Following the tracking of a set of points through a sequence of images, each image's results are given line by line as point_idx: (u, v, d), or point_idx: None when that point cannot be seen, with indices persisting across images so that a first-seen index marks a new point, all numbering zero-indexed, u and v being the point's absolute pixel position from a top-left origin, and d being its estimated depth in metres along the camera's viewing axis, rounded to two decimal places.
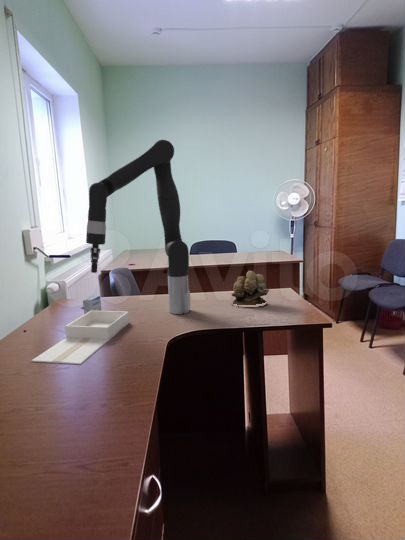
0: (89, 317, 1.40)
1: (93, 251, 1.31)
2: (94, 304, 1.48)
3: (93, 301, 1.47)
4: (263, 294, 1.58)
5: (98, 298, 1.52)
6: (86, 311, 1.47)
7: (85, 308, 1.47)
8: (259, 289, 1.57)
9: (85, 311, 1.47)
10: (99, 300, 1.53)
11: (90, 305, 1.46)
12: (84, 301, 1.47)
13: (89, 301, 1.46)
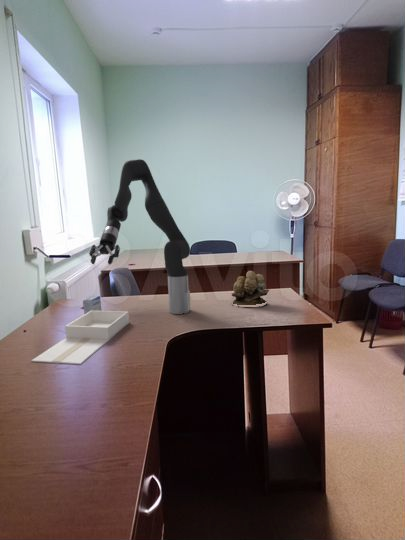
0: (89, 317, 1.40)
1: None
2: (94, 304, 1.48)
3: (93, 301, 1.47)
4: (263, 294, 1.58)
5: (98, 298, 1.52)
6: (86, 311, 1.47)
7: (85, 308, 1.47)
8: (259, 289, 1.57)
9: (85, 311, 1.47)
10: (99, 300, 1.53)
11: (90, 305, 1.46)
12: (84, 301, 1.47)
13: (89, 301, 1.46)
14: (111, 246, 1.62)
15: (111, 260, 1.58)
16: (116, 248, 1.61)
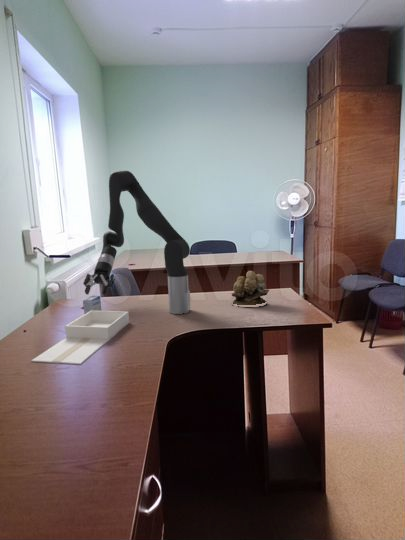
0: (89, 317, 1.40)
1: None
2: (94, 304, 1.48)
3: (93, 301, 1.47)
4: (263, 294, 1.58)
5: (98, 298, 1.52)
6: (86, 311, 1.47)
7: (85, 308, 1.47)
8: (259, 289, 1.57)
9: (85, 311, 1.47)
10: (99, 300, 1.53)
11: (90, 305, 1.46)
12: (84, 301, 1.47)
13: (89, 301, 1.46)
14: (106, 275, 1.57)
15: (106, 291, 1.52)
16: (111, 278, 1.55)
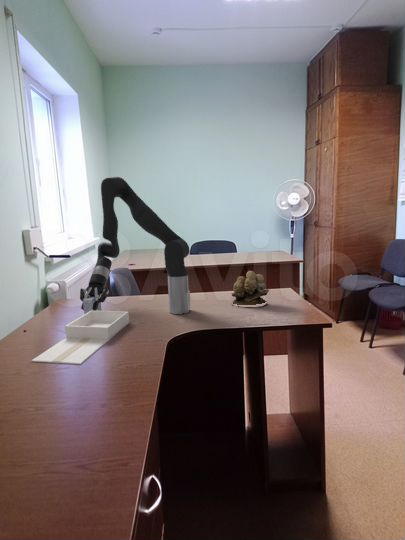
0: (89, 317, 1.40)
1: None
2: None
3: (93, 301, 1.47)
4: (263, 294, 1.58)
5: None
6: (86, 311, 1.47)
7: (85, 308, 1.47)
8: (259, 289, 1.57)
9: (85, 311, 1.47)
10: None
11: (90, 305, 1.46)
12: (84, 301, 1.47)
13: (89, 301, 1.46)
14: (100, 289, 1.51)
15: (96, 306, 1.47)
16: (104, 293, 1.50)
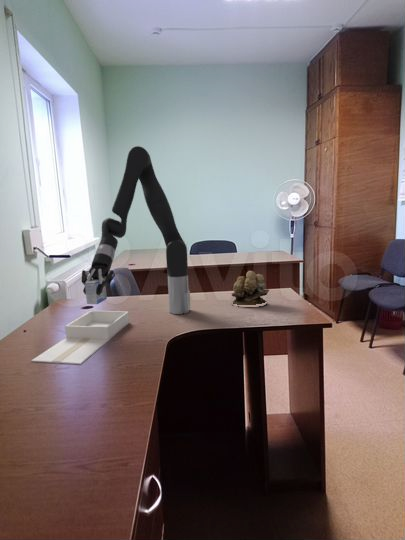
0: (89, 317, 1.40)
1: None
2: None
3: (97, 284, 1.27)
4: (263, 294, 1.58)
5: None
6: (89, 295, 1.27)
7: (87, 292, 1.27)
8: (259, 289, 1.57)
9: (87, 295, 1.27)
10: None
11: (93, 288, 1.26)
12: (86, 284, 1.26)
13: (92, 284, 1.26)
14: (105, 271, 1.31)
15: (100, 290, 1.27)
16: (109, 275, 1.29)
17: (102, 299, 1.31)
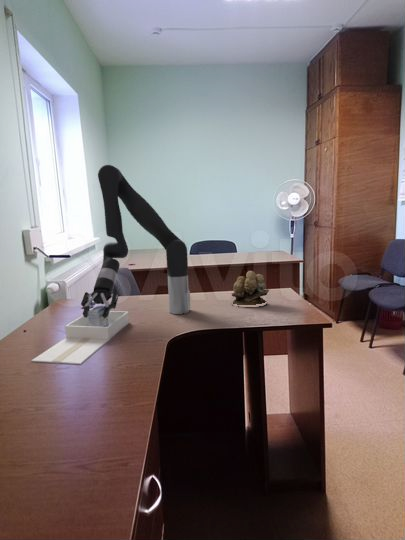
0: None
1: None
2: (101, 316, 1.30)
3: (100, 312, 1.29)
4: (263, 294, 1.58)
5: None
6: (92, 324, 1.28)
7: (90, 320, 1.28)
8: (259, 289, 1.57)
9: (90, 324, 1.29)
10: None
11: (96, 317, 1.28)
12: (89, 312, 1.28)
13: (95, 312, 1.27)
14: (107, 294, 1.33)
15: (107, 313, 1.28)
16: (114, 297, 1.31)
17: (105, 326, 1.33)
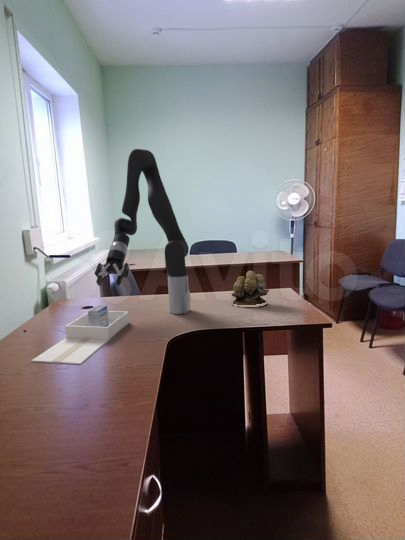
0: None
1: None
2: (101, 316, 1.30)
3: (100, 312, 1.29)
4: (263, 294, 1.58)
5: (105, 308, 1.33)
6: (92, 324, 1.28)
7: (90, 320, 1.28)
8: (259, 289, 1.57)
9: (90, 324, 1.29)
10: (106, 311, 1.34)
11: (96, 317, 1.28)
12: (89, 312, 1.28)
13: (95, 312, 1.27)
14: (119, 264, 1.43)
15: (120, 281, 1.39)
16: (125, 267, 1.42)
17: (105, 326, 1.33)
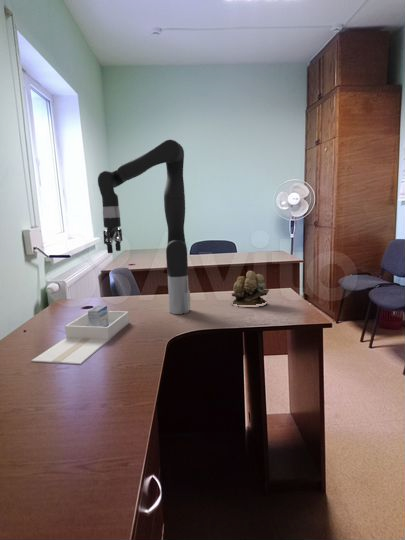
0: None
1: (104, 233, 1.46)
2: (101, 316, 1.30)
3: (100, 312, 1.29)
4: (263, 294, 1.58)
5: (105, 308, 1.33)
6: (92, 324, 1.28)
7: (90, 320, 1.28)
8: (259, 289, 1.57)
9: (90, 324, 1.29)
10: (106, 311, 1.34)
11: (96, 317, 1.28)
12: (89, 312, 1.28)
13: (95, 312, 1.27)
14: (118, 231, 1.56)
15: None
16: (121, 233, 1.59)
17: (105, 326, 1.33)
